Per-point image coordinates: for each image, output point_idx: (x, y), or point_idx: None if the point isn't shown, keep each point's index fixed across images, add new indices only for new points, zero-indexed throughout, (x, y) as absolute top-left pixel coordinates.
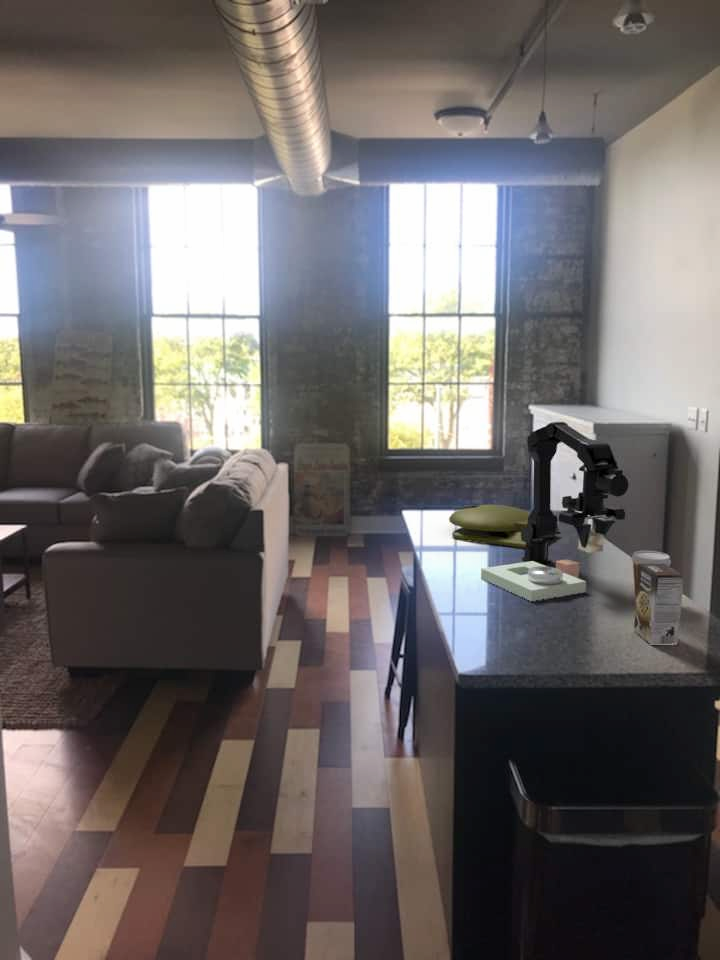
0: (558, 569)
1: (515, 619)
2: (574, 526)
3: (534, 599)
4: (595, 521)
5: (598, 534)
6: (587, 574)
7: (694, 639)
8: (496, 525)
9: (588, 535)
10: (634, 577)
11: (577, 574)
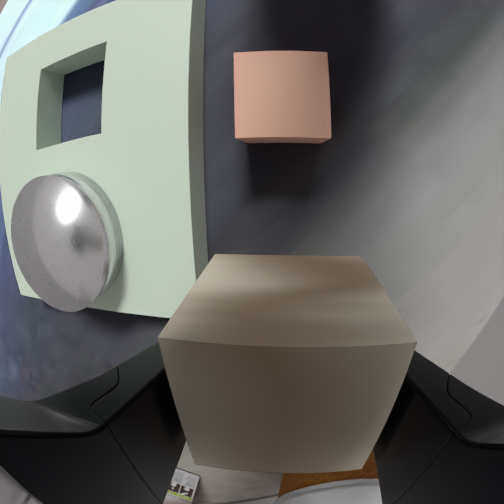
0: (97, 252)
1: (9, 334)
2: (14, 405)
3: None
4: (495, 478)
5: (336, 454)
6: (393, 123)
7: (225, 495)
8: None
9: (171, 462)
10: None
11: (314, 142)
